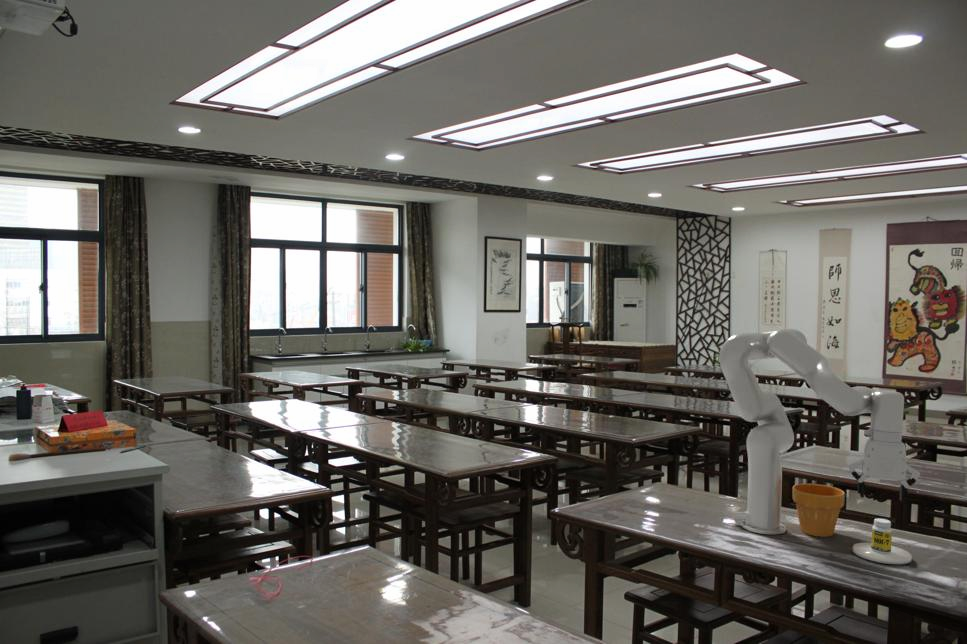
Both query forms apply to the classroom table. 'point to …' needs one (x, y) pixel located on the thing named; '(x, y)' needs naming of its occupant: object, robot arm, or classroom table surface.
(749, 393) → the robot arm
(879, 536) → the supplement bottle
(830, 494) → the flower pot
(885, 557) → the dish
